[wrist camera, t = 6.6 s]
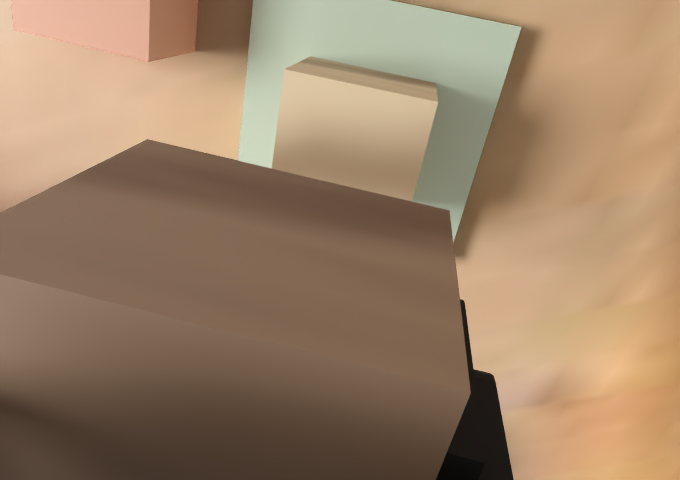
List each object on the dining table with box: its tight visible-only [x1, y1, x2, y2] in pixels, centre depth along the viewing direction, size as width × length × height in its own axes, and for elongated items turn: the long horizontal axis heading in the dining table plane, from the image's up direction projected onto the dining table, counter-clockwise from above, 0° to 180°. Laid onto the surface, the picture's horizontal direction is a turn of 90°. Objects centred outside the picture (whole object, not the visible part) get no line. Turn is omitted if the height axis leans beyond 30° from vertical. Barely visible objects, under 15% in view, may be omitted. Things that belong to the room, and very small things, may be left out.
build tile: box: [238, 0, 521, 242], centre depth 26 cm, size 12×12×1 cm
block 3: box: [272, 56, 438, 201], centre depth 23 cm, size 6×6×5 cm
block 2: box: [0, 139, 471, 480], centre depth 9 cm, size 6×6×5 cm
